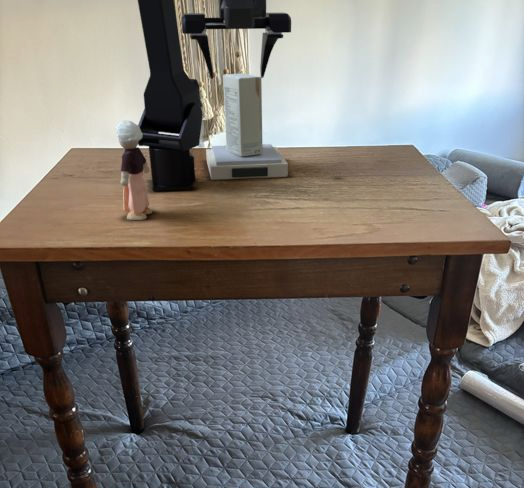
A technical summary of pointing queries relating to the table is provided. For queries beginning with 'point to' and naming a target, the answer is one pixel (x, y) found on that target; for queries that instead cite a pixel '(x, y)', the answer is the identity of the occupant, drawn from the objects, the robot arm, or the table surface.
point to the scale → (246, 164)
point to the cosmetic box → (243, 114)
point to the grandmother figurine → (133, 171)
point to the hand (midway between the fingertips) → (237, 78)
